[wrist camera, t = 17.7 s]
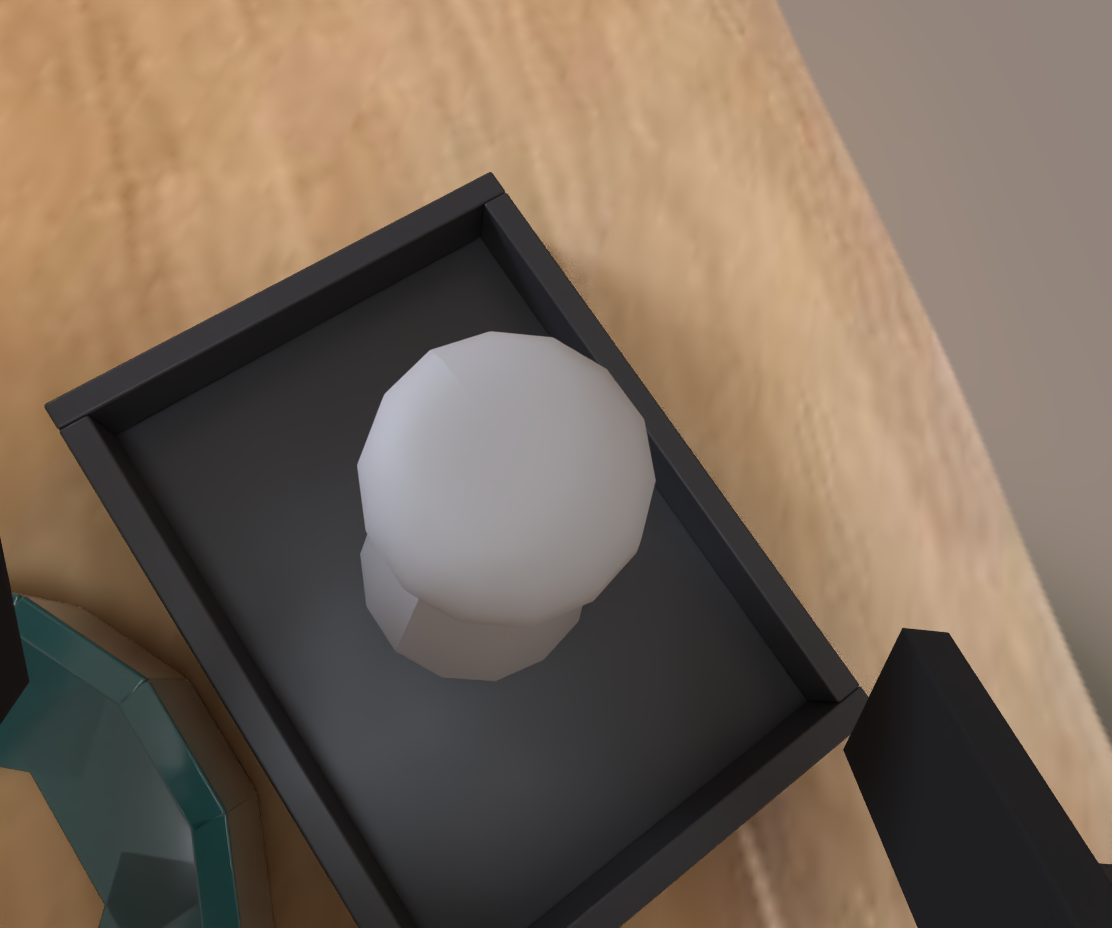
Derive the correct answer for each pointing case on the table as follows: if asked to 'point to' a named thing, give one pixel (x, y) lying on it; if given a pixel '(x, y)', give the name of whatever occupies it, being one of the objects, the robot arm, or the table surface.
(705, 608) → the tray
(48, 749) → the teal ring
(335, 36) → the table surface
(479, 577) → the salt shaker
